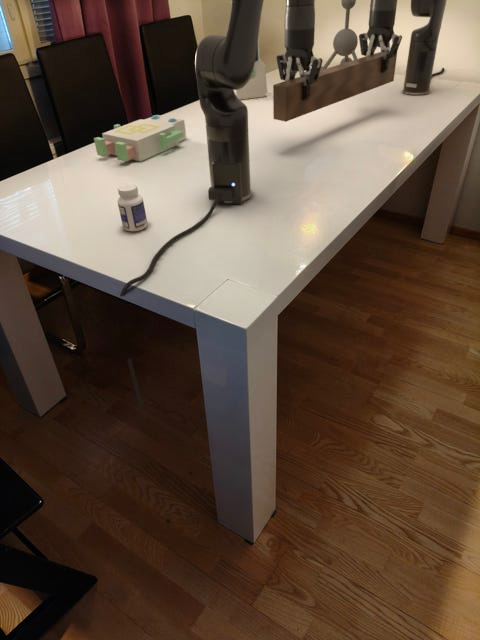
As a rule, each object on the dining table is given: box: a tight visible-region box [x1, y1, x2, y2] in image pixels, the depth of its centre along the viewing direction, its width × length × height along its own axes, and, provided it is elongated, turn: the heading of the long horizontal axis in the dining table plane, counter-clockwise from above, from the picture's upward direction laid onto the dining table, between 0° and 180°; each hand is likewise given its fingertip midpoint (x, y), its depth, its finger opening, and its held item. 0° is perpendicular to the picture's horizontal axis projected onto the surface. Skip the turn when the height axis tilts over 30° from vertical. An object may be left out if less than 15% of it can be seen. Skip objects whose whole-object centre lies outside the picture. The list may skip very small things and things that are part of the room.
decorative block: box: [93, 114, 187, 162], centre depth 144 cm, size 26×6×20 cm
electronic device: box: [234, 34, 268, 101], centre depth 180 cm, size 12×8×30 cm, turn 105°
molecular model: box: [320, 0, 359, 70], centre depth 196 cm, size 24×22×30 cm
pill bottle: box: [117, 182, 148, 232], centre depth 102 cm, size 5×5×9 cm
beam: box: [272, 51, 398, 122], centre depth 143 cm, size 54×4×9 cm, turn 136°
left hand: (297, 98), depth 132 cm, fingers closed on beam, 4 cm apart
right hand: (376, 71), depth 153 cm, fingers closed on beam, 4 cm apart
